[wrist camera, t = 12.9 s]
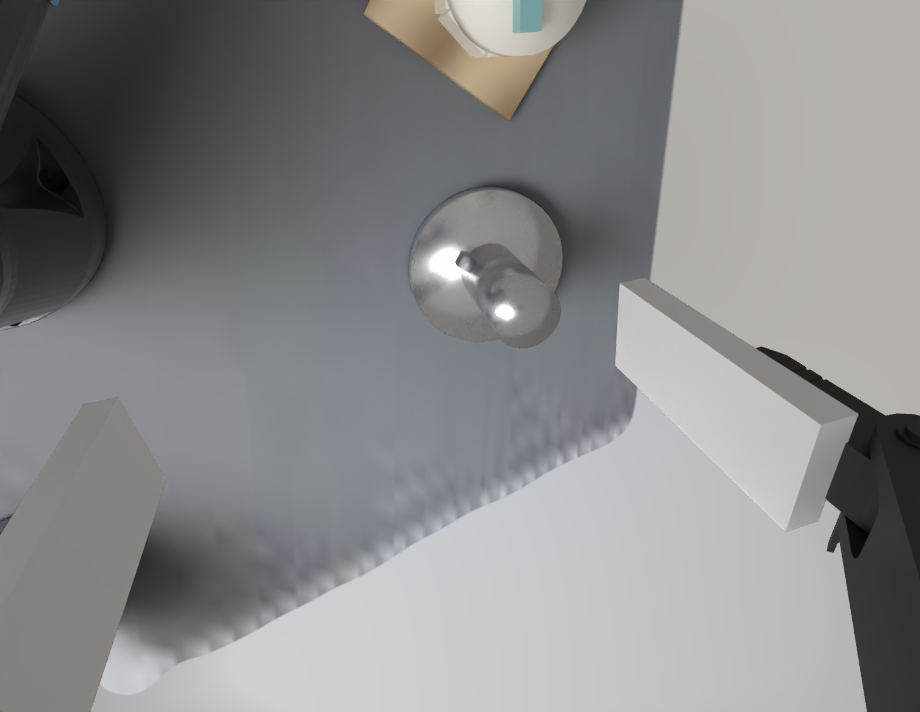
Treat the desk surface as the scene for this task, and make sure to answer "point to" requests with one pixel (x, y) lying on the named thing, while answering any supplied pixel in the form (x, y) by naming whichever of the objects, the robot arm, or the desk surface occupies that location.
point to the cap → (508, 24)
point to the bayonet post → (488, 268)
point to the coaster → (457, 54)
